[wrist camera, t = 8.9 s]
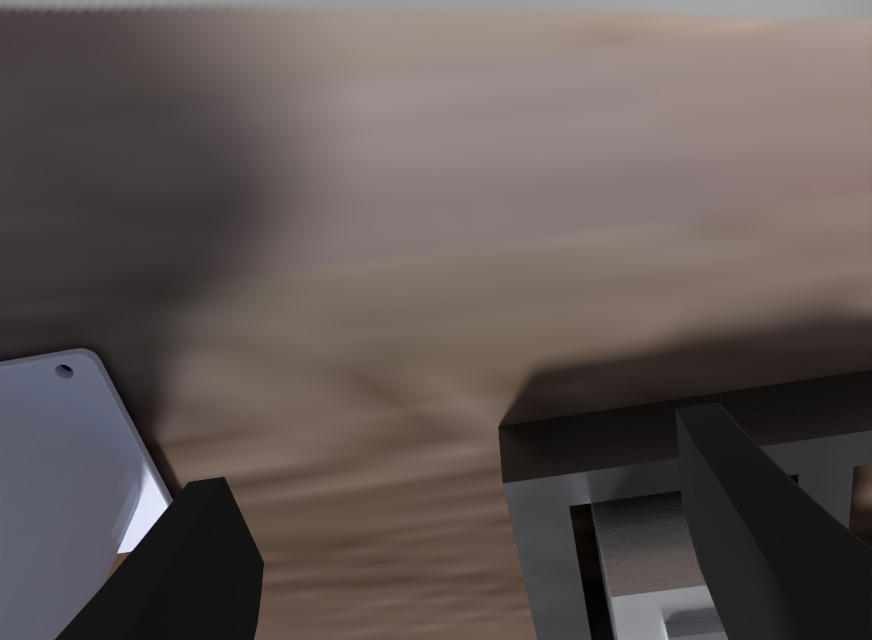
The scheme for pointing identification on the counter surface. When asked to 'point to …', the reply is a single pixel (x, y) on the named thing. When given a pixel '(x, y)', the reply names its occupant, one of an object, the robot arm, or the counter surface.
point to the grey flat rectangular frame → (662, 476)
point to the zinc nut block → (652, 571)
